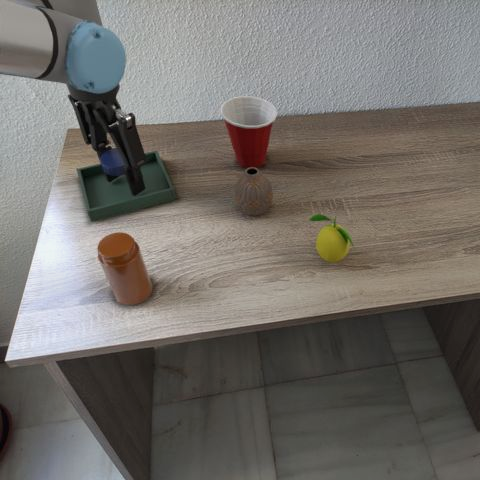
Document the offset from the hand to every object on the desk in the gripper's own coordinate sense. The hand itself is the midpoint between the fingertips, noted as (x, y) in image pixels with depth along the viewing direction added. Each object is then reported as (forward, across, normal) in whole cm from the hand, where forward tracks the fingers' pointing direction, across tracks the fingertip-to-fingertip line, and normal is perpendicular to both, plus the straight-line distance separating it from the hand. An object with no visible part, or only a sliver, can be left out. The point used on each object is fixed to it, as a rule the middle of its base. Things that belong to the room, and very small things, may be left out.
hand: (126, 184), depth 89 cm
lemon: (+1, -41, -8) cm, 42 cm away
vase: (+1, -23, -10) cm, 25 cm away
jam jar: (+1, -20, +16) cm, 25 cm away
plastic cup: (+1, -13, -21) cm, 25 cm away
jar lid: (-6, 0, 0) cm, 6 cm away
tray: (+1, 0, 0) cm, 1 cm away
